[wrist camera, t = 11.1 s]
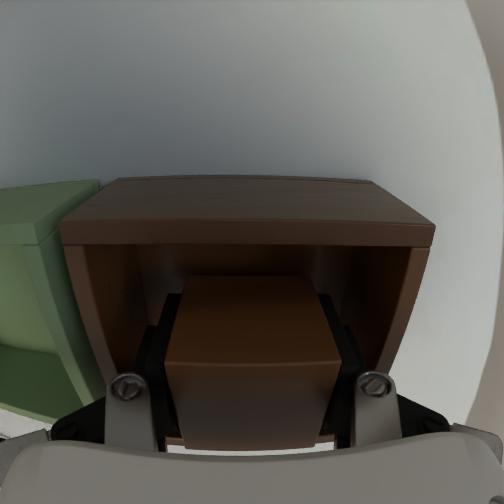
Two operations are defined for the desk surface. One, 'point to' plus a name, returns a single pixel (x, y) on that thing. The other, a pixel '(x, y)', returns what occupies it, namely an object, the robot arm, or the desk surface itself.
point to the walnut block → (250, 363)
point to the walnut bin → (243, 253)
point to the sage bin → (42, 307)
